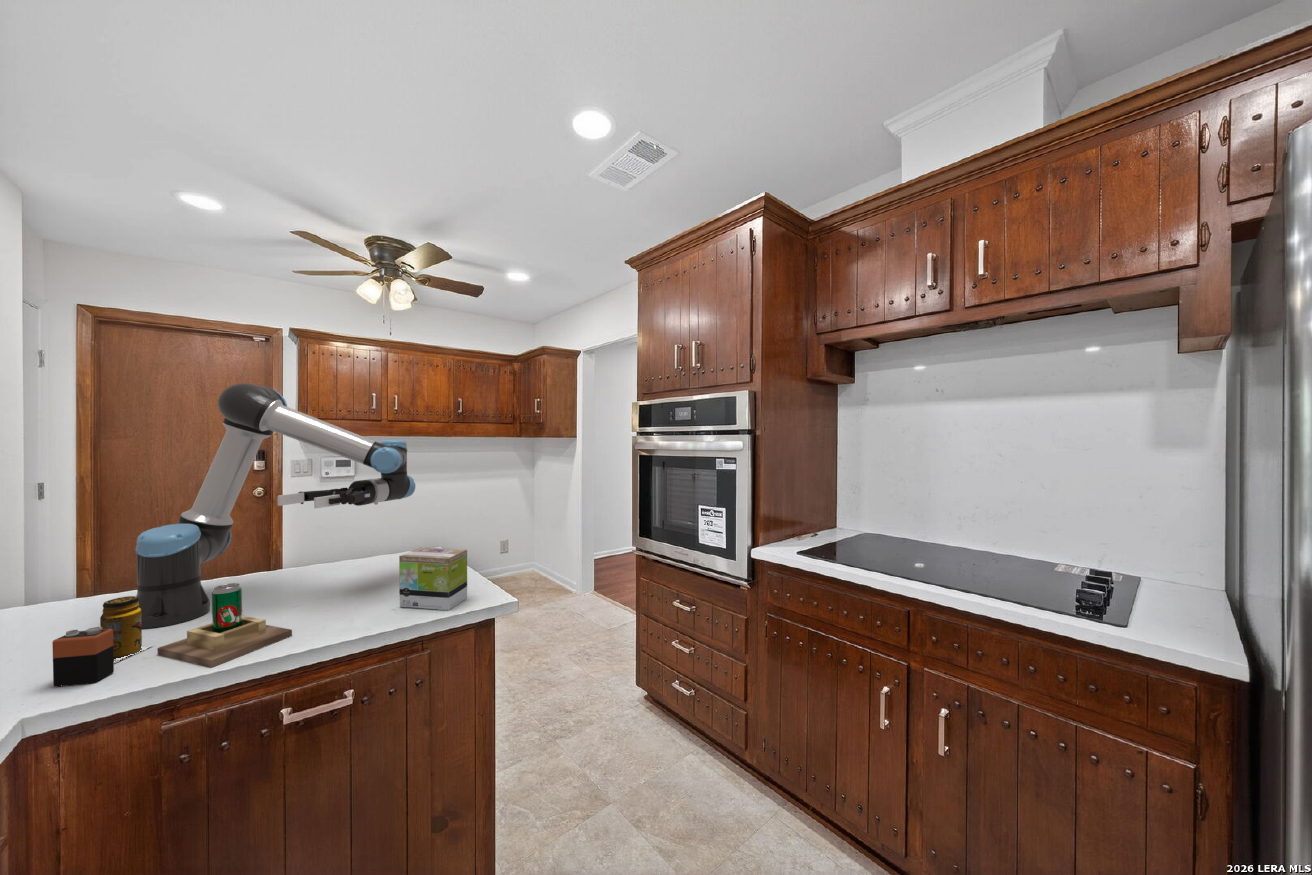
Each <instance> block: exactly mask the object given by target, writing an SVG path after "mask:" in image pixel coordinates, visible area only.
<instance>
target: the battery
mask: <svg viewBox="0 0 1312 875" xmlns="http://www.w3.org/2000/svg"><path fill="white" fill-rule="evenodd" d="M51 645H52V676H53V677H52V678H53V679H52V681H53V682H52V683H53V687H55V686H58V687H64V686H63V685H69V686H74V685H73V684H79V685H87V684H86V683H89V684H96V683H97V681H98V682H99V681H101V680H103V679H105V678H106V677H109V676H110V675H111V674H113V673H114V671H115V667H114V666H115V664H114V653H113V629H102V627H100V626H94V627H90V628H87V629H85V630H79V629H70V630H68V631H66V632H65V635H62V636H59V637H58V638H56V639H54V640H52V644H51ZM104 677H105V678H104ZM95 682H96V683H95ZM61 685H62V686H61Z"/></svg>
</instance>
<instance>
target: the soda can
mask: <svg viewBox="0 0 1312 875" xmlns="http://www.w3.org/2000/svg"><path fill="white" fill-rule="evenodd" d="M242 588H243V587H241V586H240V583H238V582H234V583H233V582H231V583H224V584H220V585H217V586H215V587H214V589H213V591H212V592H211V612H212V613H211V617H212V619H211V623H212V632H215V633H222V632H225V631H228V630H231V629H234V628H237V627H240V626H242V616H243V595H242V594H243V593H242V592H243V589H242Z"/></svg>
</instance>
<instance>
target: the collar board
mask: <svg viewBox="0 0 1312 875" xmlns="http://www.w3.org/2000/svg"><path fill="white" fill-rule="evenodd" d="M290 636H291V637H292V636H293V629H290V628H285V627H279V626H276V625H275V626H274V625H268V624H266V619H262V618H256V617H252V616H246V615H242V626H240V627H237V628H234V629H231V630H228V631H225V632H222V633H215V632H212V622H211V623H207V624H204V625H202V626H199V627H196V628H192V629H189V630H187V631H186V638H183V639H180V640H177V641H174V642H170V643H169V644H165V645H163V646H159V647H157V649H156V650H157V655H158V654H159V655H158V656H161V655H162V656H161V657H165V658H169V659H173V660H174V659H175V660H177V659H178V660H179V661H182V660H183V661H182V662H188V663H191V664H194V663H195V665H198V666H204V667H208V668H210V669H211V668H214V667H216V666H219V665H222V664H224V663H227V662H230V661H232V660H234V659H237V658H239V657H242V656H245V655H248V654H250V653H252V652H255V651H257V650H260V649H263V648H265V647H268V646H269V645H270V646H271V645H273V644H275V643H278V642H280V641H282V640H284V639H288V638H290ZM287 637H288V638H287ZM274 642H275V643H274ZM272 643H273V644H272ZM264 646H265V647H264ZM262 647H263V648H262ZM254 650H255V651H254Z"/></svg>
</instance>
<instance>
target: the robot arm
mask: <svg viewBox="0 0 1312 875" xmlns="http://www.w3.org/2000/svg"><path fill="white" fill-rule="evenodd" d="M218 396H219V397H218V399H217V407H218V410H219V412H220V413H221V415H222V416H223V417H224V419H223V421H222V425H223V427H224V429H225V430H226V431H225V433H224V435H223V438H222V441H221V442H220V445H219V446H218V449H217V451H216V453H215V455H214V457H213V459H212V462H211V464H210V467H209V469H208V472H206V473H207V474H206V475H205V478H204V480H203V482H202V485H201V487H200V489H199V491H198V493H197V495H196V498H195V500H194V502H193V504H192V507H191V508H190V509H188V510H186V511H183V512H182V513H181V514H180V517H179V519H178V521H177V523H174V524H167V525H161V526H158V527H153V528H151V529H150V528H149V529H146V530H145V531H143V532H141V533H140V534H139V535H138V537H137V538H136V546H135V554H136V556H135V557H136V584H137V589H136V590H137V593H136V597H138V599H139V600H138V601H139V602H138V604H139V608H140V609H141V613H142V615H141V624H142V625H141V626H142V629H152V628H159V627H160V628H161V627H165V626H172V625H176V624H180V623H184V622H188V621H191V620H194V619H196V618H200V617H202V616H204V615H205V614H207V613H209V612H210V611H211V602H210V598H209V597H208V594H207V593H206V591H205V588H204V587H203V585H202V581H201V565H202V564H205V563H207V562H210V561H212V560H214V559H216V558H217V557H219V556H220V555H222V554H223V552H224V551H226V550H227V548H229V545H230V543H231V541H232V531H231V529H232V526H233V525H234V520H233V518H232V517H231V513H232V511H233V509H234V506H235V504H236V501H237V499H238V497H239V494H240V493H241V490H242V488H243V486H244V483H245V481H246V479H247V477H248V475H249V472H250V469H251V467H252V464H253V463H254V460H255V459H256V456H257V454H258V452H259V449H260V447H261V445H262V442H263V440H265V439H267V438H270V437H271V436H272V435H273V433H277V434H280V435H282V436H286V437H289V438H291V439H294V440H295V441H299V442H301V443H304V444H307V445H310V446H313V447H314V448H315V447H316V448H318V449H321V450H323V451H326V452H328V453H332V454H334V455H337V456H340V457H342V458H346V459H348V460H350V461H354V462H356V463H359V464H361V465H364V466H367V467H369V468H372V469H373V470H374V471H376V472H378V473H380V477H376V478H368V479H362V480H355V481H353V482H351V484H349V486H348V487H341V488H331V489H325V490H324V489H323V490H322V489H320V490H310V491H309V490H307V491H299V492H295V493H288V494H281V495H279V494H278V495H277V506H279V507H281V506H286V505H287V506H289V505H295V504H301V505H305V504H304V503H305V502H313V505H314V506H313V508H314V509H320V508H328V507H334V506H338V505H339V506H340V505H346V504H348V505H354V506H358V507H359V506H367V505H371V504H374V505H378V504H379V503H383V502H384V503H385V502H388V501H389V502H390V501H395V500H402V499H406V498H410V497H411V496H412V495H413V494H414V492H415V490H416V482H415V481H414V478H413V477H412V476H411V475H408V447H407V441H406V440H404V439H391V440H390V439H387V440H385V439H383V440H382V441H381V442H378V441H375V440H372V439H370V438H368V437H365V436H362V435H360V434H357V433H354V432H353V431H350V430H347V429H345V428H342V427H340V426H337V425H335V424H331V423H330V422H327V421H324V420H322V419H319V418H316V417H315V416H312V415H309V414H307V413H304V412H301V411H299V410H296V409H294V408H290V407H288V404H287V401H286V399H285V398H284V396H283V395H282V394H281V393H280V392H278V391H276V390H275V389H273V388H271V387H269V386H263V385H257V384H252V383H247V382H243V383H235V384H232V385H229V386H228V387H226V388H224V390H223V391H221V393H220V394H219V395H218Z"/></svg>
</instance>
